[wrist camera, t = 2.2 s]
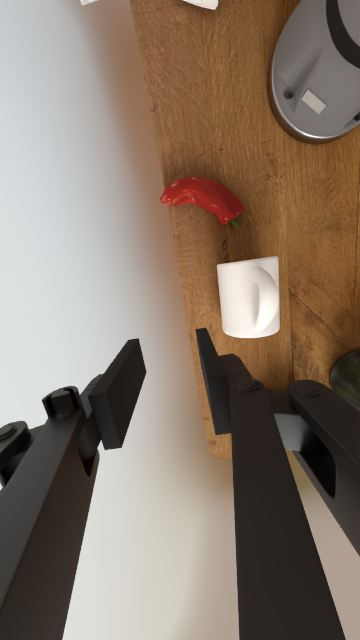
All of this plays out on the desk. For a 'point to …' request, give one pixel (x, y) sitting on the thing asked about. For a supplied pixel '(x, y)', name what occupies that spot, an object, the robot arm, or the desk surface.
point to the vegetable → (204, 197)
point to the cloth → (200, 0)
